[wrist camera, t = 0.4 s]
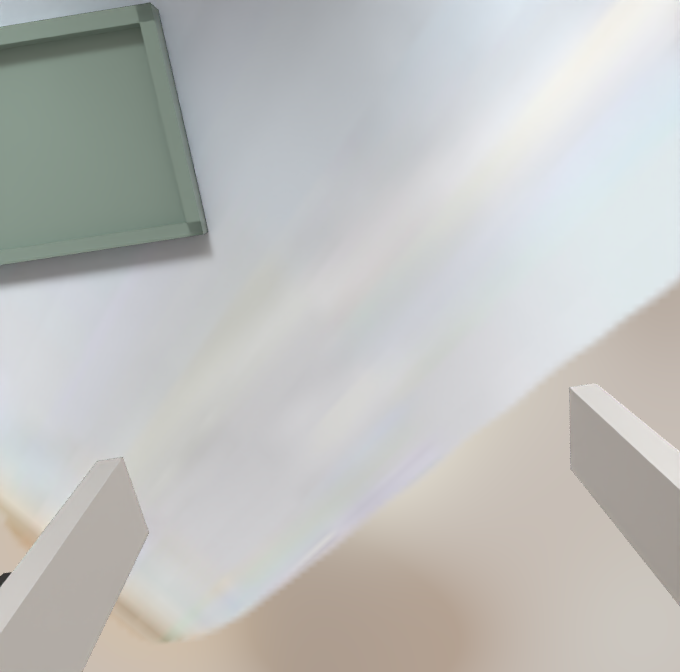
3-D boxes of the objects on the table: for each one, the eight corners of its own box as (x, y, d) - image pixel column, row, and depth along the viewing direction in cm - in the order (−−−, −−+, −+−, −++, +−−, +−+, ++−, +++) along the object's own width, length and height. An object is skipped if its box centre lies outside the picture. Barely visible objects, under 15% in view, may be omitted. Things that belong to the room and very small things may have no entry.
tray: (-44, 269, 40) (-59, 274, 38) (-128, 56, 35) (-149, 50, 33) (208, 231, 39) (203, 234, 38) (158, 9, 34) (150, 2, 33)
